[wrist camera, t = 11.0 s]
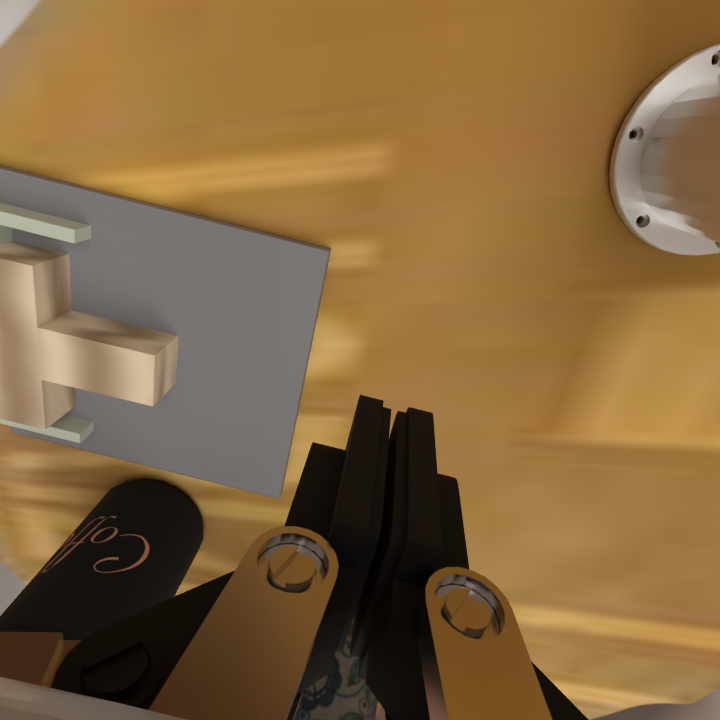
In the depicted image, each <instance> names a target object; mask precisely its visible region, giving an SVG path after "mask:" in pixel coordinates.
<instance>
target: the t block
mask: <svg viewBox="0 0 720 720" xmlns="http://www.w3.org/2000/svg"><path fill="white" fill-rule="evenodd" d="M177 352H178V336H177V335H172V334H168V333H164V332H160V331H156V330H151V329H147V328H143V327H139V326H135V325H130V324H126V323H122V322H118V321H114V320H110V319H105V318H101V317H97V316H93V315H89V314H84V313H80V312H76V311H72V307H71V285H70V263H69V254H67V253H63V252H59V251H54V250H50V249H46V248H42V247H38V246H34V245H29V244H25V243H21V242H17V241H9V242H5V243H1V244H0V419H3V420H8V421H12V422H16V423H20V424H24V425H28V426H33V427H37V428H41V429H47V428H48V427H49V426H51V425H52V424H53V423H54V422H56V421H57V420H58V419H59V418H61V417H62V416H63V415H65V414H66V413H67V412H68V411H70V410H71V409H72V408H73V407H75V406H76V394H75V388H78V389H82V390H86V391H90V392H95V393H99V394H103V395H107V396H111V397H116V398H120V399H124V400H128V401H132V402H137V403H141V404H145V405H149V406H154V405H155V404H156V403H157V402H158V401H159V400H160V399H161V398H162V397H163V396H164V395H165V394H166V393H167V392H168V391H169V390H170V389H171V388H172V387H173V386H174V385H175V384H176V370H177Z"/></svg>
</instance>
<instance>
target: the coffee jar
mask: <svg viewBox="0 0 720 720" xmlns="http://www.w3.org/2000/svg"><path fill="white" fill-rule="evenodd" d="M202 540H203V523H202V520H201V516H200V513H199V511H198V509H197V506H196V505H195V504H194V502H193V501H192V500H191V499H190V498H189V496H188V495H186V494H185V493H184V492H182V491H181V490H179V489H178V488H177V487H175V486H173V485H170V484H168V483H165V482H163V481H159V480H152V479H140V480H133V481H127V482H125V483H123V484H120V485H118V486H116V487H114V488H112V489H111V490H110V491H109V492H108V493H107V494H106V495H105V496H104V497H103V499H102V500H101V501H100V502H99V503H98V504H97V506H96V507H95V508H94V509H93V510H92V511H91V512H90V514H89V515H88V516H87V517H86V518H85V519H84V520H83V522H82V523H81V524H80V525H79V526H78V527H77V529H76V530H75V531H74V532H73V533H72V534H71V535H70V537H69V538H68V539H67V540H66V541H65V542H64V544H63V545H62V546H61V547H60V548H59V549H58V550H57V552H56V553H55V554H54V555H53V556H52V557H51V558H50V560H49V561H48V562H47V563H46V564H45V565H44V567H43V568H42V569H41V570H40V571H39V572H38V573H37V575H36V576H35V577H34V578H33V579H32V580H31V581H30V583H29V584H28V585H27V586H26V587H25V589H24V590H23V591H22V592H21V593H20V594H19V595H18V596H17V598H16V599H15V600H14V601H13V602H12V603H11V605H10V606H9V607H8V608H7V609H6V610H5V611H4V613H3V614H2V615H1V616H0V632H63V640H82V639H84V638H85V637H87V636H89V635H90V634H92V633H94V632H96V631H97V630H99V629H101V628H103V627H105V626H108V625H110V624H112V623H115V622H117V621H119V620H122V619H124V618H126V617H129V616H131V615H133V614H136V613H138V612H140V611H142V610H145V609H147V608H149V607H152V606H154V605H156V604H159V603H161V602H163V601H166V600H168V599H170V598H173V597H174V596H175V594H176V592H177V590H178V588H179V586H180V584H181V582H182V580H183V579H184V577H185V575H186V573H187V571H188V569H189V567H190V565H191V563H192V561H193V559H194V558H195V556H196V554H197V552H198V550H199V548H200V545H201V543H202Z"/></svg>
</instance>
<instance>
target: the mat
mask: <svg viewBox="0 0 720 720" xmlns="http://www.w3.org/2000/svg"><path fill="white" fill-rule="evenodd" d="M9 241H17V242H21V243H25V244H29V245H34V246H38V247H42V248H46V249H50V250H54V251H59V252H63V253H67V254H69V263H70V285H71V307H72V311H76V312H80V313H84V314H89V315H93V316H97V317H101V318H105V319H110V320H114V321H118V322H122V323H126V324H130V325H135V326H139V327H143V328H147V329H151V330H156V331H160V332H164V333H168V334H172V335H177V336H178V352H177V370H176V384H175V385H174V386H173V387H172V388H171V389H170V390H169V391H168V392H167V393H166V394H165V395H164V396H163V397H162V398H161V399H160V400H159V401H158V402H157V403H156V404H155V405H154V406H149V405H145V404H141V403H137V402H132V401H128V400H124V399H120V398H116V397H111V396H107V395H103V394H99V393H95V392H90V391H86V390H82V389H78V388H75V394H76V406H75V407H73V408H72V409H71V410H70V411H68V412H67V413H66V414H65V415H63V416H62V417H61V418H59V419H58V420H57V421H56V422H54V423H53V424H52V425H51V426H49V427H48V428H47V429H41V428H37V427H33V426H28V425H24V424H20V423H16V422H12V421H8V420H3V419H0V423H1V424H5V425H9V426H11V432H13V433H17V434H21V435H25V436H29V437H33V438H37V439H41V440H45V441H49V442H53V443H57V444H61V445H65V446H69V447H73V448H77V449H81V450H85V451H89V452H93V453H97V454H101V455H105V456H109V457H113V458H117V459H121V460H125V461H129V462H133V463H137V464H141V465H145V466H149V467H153V468H157V469H161V470H165V471H169V472H173V473H177V474H181V475H185V476H189V477H193V478H197V479H201V480H205V481H209V482H213V483H217V484H221V485H225V486H229V487H233V488H237V489H241V490H245V491H249V492H253V493H257V494H261V495H265V496H269V497H273V498H277V499H279V498H280V496H281V493H282V489H283V484H284V479H285V474H286V469H287V464H288V459H289V454H290V449H291V444H292V439H293V434H294V429H295V424H296V420H297V415H298V410H299V405H300V400H301V395H302V390H303V385H304V380H305V375H306V370H307V365H308V360H309V355H310V350H311V345H312V341H313V336H314V331H315V326H316V321H317V316H318V311H319V306H320V301H321V296H322V291H323V286H324V281H325V276H326V271H327V266H328V262H329V257H330V252H331V249H330V248H326V247H322V246H318V245H314V244H310V243H306V242H302V241H298V240H294V239H290V238H286V237H282V236H278V235H274V234H270V233H266V232H262V231H258V230H254V229H250V228H246V227H242V226H238V225H234V224H231V223H227V222H223V221H219V220H215V219H211V218H207V217H203V216H199V215H195V214H191V213H187V212H183V211H179V210H175V209H171V208H167V207H163V206H159V205H155V204H151V203H147V202H143V201H139V200H135V199H132V198H128V197H124V196H120V195H116V194H112V193H108V192H104V191H100V190H96V189H92V188H88V187H84V186H80V185H76V184H72V183H68V182H64V181H60V180H56V179H52V178H48V177H44V176H40V175H36V174H33V173H29V172H25V171H21V170H17V169H13V168H9V167H5V166H1V165H0V244H1V243H5V242H9Z"/></svg>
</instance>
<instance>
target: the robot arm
mask: <svg viewBox="0 0 720 720" xmlns="http://www.w3.org/2000/svg"><path fill="white" fill-rule="evenodd" d="M712 56H713V57H714V58H715V62H714V64H713V65H712V62H711V60H712ZM632 130H633V131H634V137H633V138H631V139H630V138H629V133H630V131H632ZM609 179H610V189H611V196H612V199H613V202H614V205H615V208H616V211H617V213H618V214H619V216H620V218H621V219H622V221H623V223H624V224H625V225H626V227H627V228H628V229H629V230H630V231H631V232H632V233H633V234H634V235H635V236H636V237H638V238H639V239H641V240H642V241H644V242H646V243H647V244H649V245H651V246H653V247H656V248H658V249H660V250H662V251H666V252H670V253H674V254H678V255H690V256H701V255H709V254H717V253H720V43H719V44H716V45H713V46H710V47H708V48H705V49H702V50H700V51H697V52H695V53H693V54H691V55H689V56H688V57H686V58H684V59H682V60H681V61H679V62H677V63H676V64H674V65H672V66H671V67H670V68H669V69H668V70H666V71H665V72H664V73H663V74H661V75H660V76H659V77H658V78H656V79H655V80H654V81H653V82H652V83H651V85H650V86H649V87H648V88H647V89H646V90H645V91H644V92H643V93H642V94H641V96H640V97H639V98H638V99H637V101H636V102H635V104H634V105H633V107H632V108H631V110H630V111H629V113H628V114H627V116H626V117H625V120H624V122H623V124H622V126H621V128H620V130H619V133H618V135H617V137H616V141H615V144H614V148H613V151H612V155H611V162H610V173H609ZM639 216H641V220H640V221H639V222H638V223H636V220H637V218H638V217H639ZM390 418H391V409H388V408H384V407H383V401H382V400H378V399H375V398H371V397H367V396H363V395H360V397H359V400H358V404H357V408H356V411H355V415H354V419H353V423H352V427H351V430H350V434H349V438H348V442H347V446H346V450H342V449H338V448H334V447H330V446H326V445H322V444H318V443H314V442H313V443H312V446H311V448H310V451H309V454H308V457H307V460H306V463H305V466H304V469H303V472H302V475H301V478H300V481H299V484H298V487H297V490H296V493H295V496H294V499H293V502H292V505H291V508H290V511H289V514H288V517H287V520H286V523H285V526H282V527H278V528H274V529H270V530H269V531H267V532H265V533H263V534H262V535H260V536H259V537H258V538H257V539H256V540H255V541H254V542H253V543H252V545H251V546H250V548H249V549H248V551H247V552H246V554H245V556H244V557H243V559H242V561H241V562H240V564H239V565H238V567H237V569H236V570H235V571H233V572H230V573H228V574H226V575H223V576H221V577H219V578H216V579H214V580H212V581H210V582H207V583H205V584H203V585H200V586H198V587H196V588H193V589H191V590H189V591H186V592H184V593H182V594H179V595H177V596H175V597H173V598H170V599H168V600H166V601H163V602H161V603H159V604H156V605H154V606H152V607H149V608H147V609H145V610H142V611H140V612H138V613H136V614H133V615H131V616H129V617H126V618H124V619H122V620H119V621H117V622H115V623H112V624H110V625H108V626H105V627H103V628H101V629H99V630H97V631H96V632H94V633H92V634H90V635H89V636H87V637H85V638H84V639H82V640H63V632H0V720H294V718H295V715H296V712H297V709H298V706H299V704H300V701H301V698H302V694H303V691H304V690H305V689H307V688H308V687H310V686H311V685H313V684H314V683H316V682H317V681H319V680H320V679H322V678H323V677H325V676H326V675H328V674H329V672H330V669H331V666H332V663H333V660H334V656H335V653H336V652H339V653H341V652H342V650H343V647H344V644H345V641H346V638H347V635H348V632H349V629H350V626H351V623H352V620H353V617H354V621H353V629H352V637H351V645H350V655H351V656H355V657H359V668H358V677H357V678H360V679H364V680H366V682H365V683H366V684H367V686H368V687H369V689H370V690H371V691H372V693H373V694H374V696H375V697H376V699H377V700H378V704H377V710H376V720H588V719H587V718H586V717H585V716H584V715H583V714H582V713H581V712H580V711H579V710H578V709H577V708H576V707H575V706H574V704H573V703H572V702H571V701H570V700H569V699H568V698H567V697H566V696H565V695H564V694H563V693H562V692H561V691H560V690H559V689H558V688H557V687H556V686H555V685H554V684H553V683H552V682H551V681H550V680H549V679H548V678H547V677H546V676H545V675H544V674H543V673H542V672H541V671H540V670H539V669H538V668H537V667H536V666H535V665H534V664H533V663H532V662H531V660H530V657H529V654H528V651H527V649H526V646H525V643H524V640H523V638H522V635H521V632H520V629H519V627H518V624H517V621H516V618H515V616H514V613H513V610H512V608H511V606H510V604H509V602H508V600H507V598H506V597H505V596H504V594H503V593H502V592H501V591H500V590H499V588H498V587H497V586H496V585H494V584H493V583H492V582H491V581H489V580H488V579H487V578H486V577H484V576H482V575H480V574H478V573H476V572H474V571H472V570H469V564H468V557H467V549H466V541H465V534H464V526H463V519H462V511H461V503H460V496H459V488H458V483H457V480H456V479H455V478H453V477H449V476H446V475H442V474H438V473H437V462H436V448H435V435H434V421H433V413H430V412H426V411H422V410H418V409H414V408H410V407H408V409H407V411H406V413H404V412H400V411H398V412H397V414H396V417H395V421H394V424H393V427H392V430H391V434H390V437H389V430H390Z"/></svg>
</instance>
